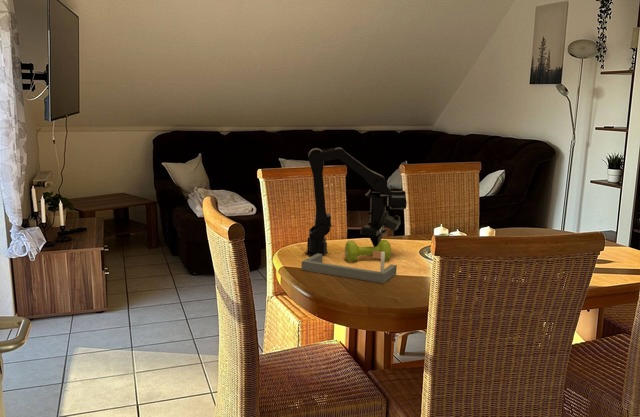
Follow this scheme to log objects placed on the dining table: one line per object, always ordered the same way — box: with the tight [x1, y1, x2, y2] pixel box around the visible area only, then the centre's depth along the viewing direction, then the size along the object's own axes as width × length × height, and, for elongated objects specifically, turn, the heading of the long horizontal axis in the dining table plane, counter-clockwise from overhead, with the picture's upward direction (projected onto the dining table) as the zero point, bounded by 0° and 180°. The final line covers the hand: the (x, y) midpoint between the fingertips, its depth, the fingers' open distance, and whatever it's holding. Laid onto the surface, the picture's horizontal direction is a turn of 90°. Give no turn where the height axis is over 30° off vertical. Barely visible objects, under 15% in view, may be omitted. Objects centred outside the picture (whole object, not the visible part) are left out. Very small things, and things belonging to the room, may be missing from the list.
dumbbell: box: [344, 239, 392, 263], centre depth 217 cm, size 16×8×7 cm, turn 99°
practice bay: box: [301, 251, 398, 284], centre depth 202 cm, size 30×12×10 cm, turn 63°
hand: (376, 249), depth 225 cm, fingers closed
